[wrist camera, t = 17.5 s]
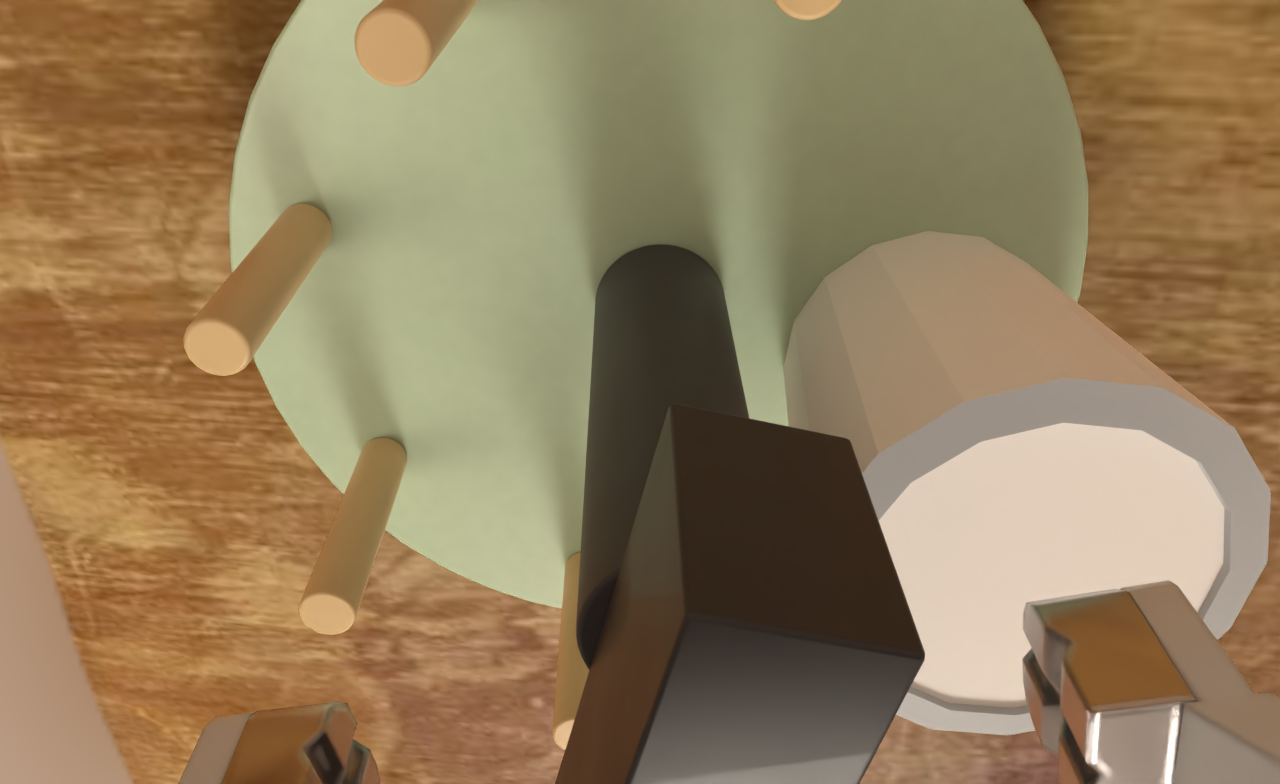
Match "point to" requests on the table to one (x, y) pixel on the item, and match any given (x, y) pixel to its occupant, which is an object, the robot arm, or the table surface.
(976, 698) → the white cup
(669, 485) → the rack
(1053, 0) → the table surface
